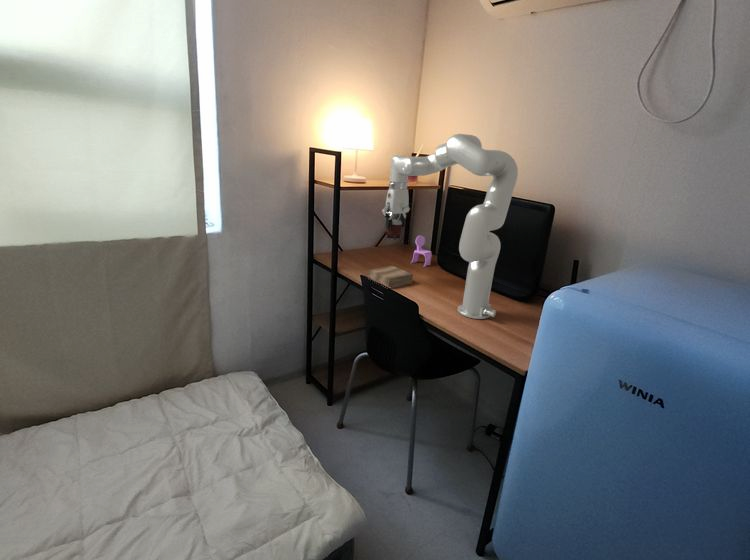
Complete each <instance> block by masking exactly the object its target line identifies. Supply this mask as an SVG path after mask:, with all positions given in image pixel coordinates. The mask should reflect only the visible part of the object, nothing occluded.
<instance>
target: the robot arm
mask: <svg viewBox="0 0 750 560" xmlns="http://www.w3.org/2000/svg"><path fill="white" fill-rule="evenodd" d="M482 146H483V145H482V140H480V138H479V137H478V136H476V135H473V134H464V133H457V134H453V135H451V136H450V137H449V138H448V139H447V140H446V143H442V144H440V145H438V146H437V147H436V149H435V152H434V153H433V154H430V155H427V156H407V155H406V156H405V155H392V156H391V161H390V172H389V173H390V174H389V183H388V190H387V195H386V199H385V206H384V208H382V210H381V213H382V214H383V216H384V218H385V229H386V228H388V229H391V228H392V220H391V219H393V216H394V215H398V216H399V215H400V214H401V215H400V218H399V220H401V222H402V228H405V222H406V218H407V215H408V214H409V211H410V210H411V208H410V206H409V204H410V203H409V200H410V199H409V198H410V197H409V190H408V180H409V177H413V176H414V177H417V176H419V177H421V176H428V175H432V174H436V173H438V172H441V171H443V170H445V169H446V168H449V167H453V166H456V165H460V167H462V168H464V169H465V170H466V171H469V172H470V173H471V174H474V175H475V176H478V177H479V176H480V177H492V180H491V182H490V184H489V186H488V188H487V190H486V194H485V198H484V201H483V203H482V204H477V205H475V206H473V207H472V208H471V209H470V210H469V211H468V213H467V214H466V217H465V221H464V224H463V228H462V231H461V234H460V238H459V243H458V244H459V245H458V251H459V254H460V257H461V258H462V259H463V260H464V261H465V262H468V266H467V273H466V279H465V286H464V290H463V299H462V304H460V305H458V306H457V312H458V313H459V314H460V315H462V316H463V317H466V318H470V319H474V320H485V319H488V318H490V317H492V318H496V314H497V310H495V309H492V308H491V307H492V305H491V303H489V301H490V296H491V290H492V284H493V279H494V273H495V268H496V265H497V261H498V258H499V255H500V252H501V251H500V250H501V241H500V238H499V236H498V235H496V234H495V233H493V232H491V231H496V230H498V229H500V228H502V227H503V225H504V223H505V220H506V218H507V214H508V212H509V207H510V204H511V201H512V197H513V194H514V190H515V187H516V184H517V181H518V176H519V169H518V165H517V162H516V160H515V159H514V157H512V155H511V154H509V153H507V152H505V151H503V150H500V149H499V150H496V149H484V148H483V147H482ZM406 206H408V207H406ZM404 207H406V208H405V209H404V210H403V211H402V209H403V208H404Z"/></svg>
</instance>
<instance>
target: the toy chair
mask: <svg viewBox="0 0 750 560" xmlns="http://www.w3.org/2000/svg"><path fill="white" fill-rule="evenodd" d="M414 242H415V245H416V249H415V250H414V252H413V255H412V256H413V257H412V260H411V262H410V264H414V263H417V261H418V262H419V256H420V255H423V256H424V259H425V262H424V264H423V266H422V267H423V268H425V267H428V266H430V265H431V260H432V254H433V253H432V251H431V250H428V249H424V248H422V247H423V246H424V245H425V242H426V238H425V237H424V236H423V235H421V234H420V235H417V237H416V238H415V241H414ZM427 265H428V266H427Z"/></svg>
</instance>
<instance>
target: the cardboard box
mask: <svg viewBox="0 0 750 560" xmlns="http://www.w3.org/2000/svg"><path fill="white" fill-rule="evenodd" d="M369 277H370V278H372V279H374V280H376V281H378V282H380V283H382V284H384V285H386V286H388V287H391V288H390V289H394V288H399V287H402V286H407V285H412V284H413V273H411V272H409V271H406V270H404V269H402V268H400V267H396V266H394V265H388V266H382V267H378V268H371V269H369V270H368V278H369Z"/></svg>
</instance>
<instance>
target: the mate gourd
mask: <svg viewBox="0 0 750 560" xmlns="http://www.w3.org/2000/svg"><path fill="white" fill-rule="evenodd" d="M406 207H409V205H408V206H406ZM406 207H404V208H403V209H402V211H403V210H404V209H405V208H406ZM400 215H401V214H400ZM400 215H399V214H398V217H397V218H392V219H391V220H392V228H391V229H388V228H386V227H385V232H386V239H393V240H394V241H395V240H397V239H401V234H402V230H403V227H402V222H401V220H399V218H400Z"/></svg>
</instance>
